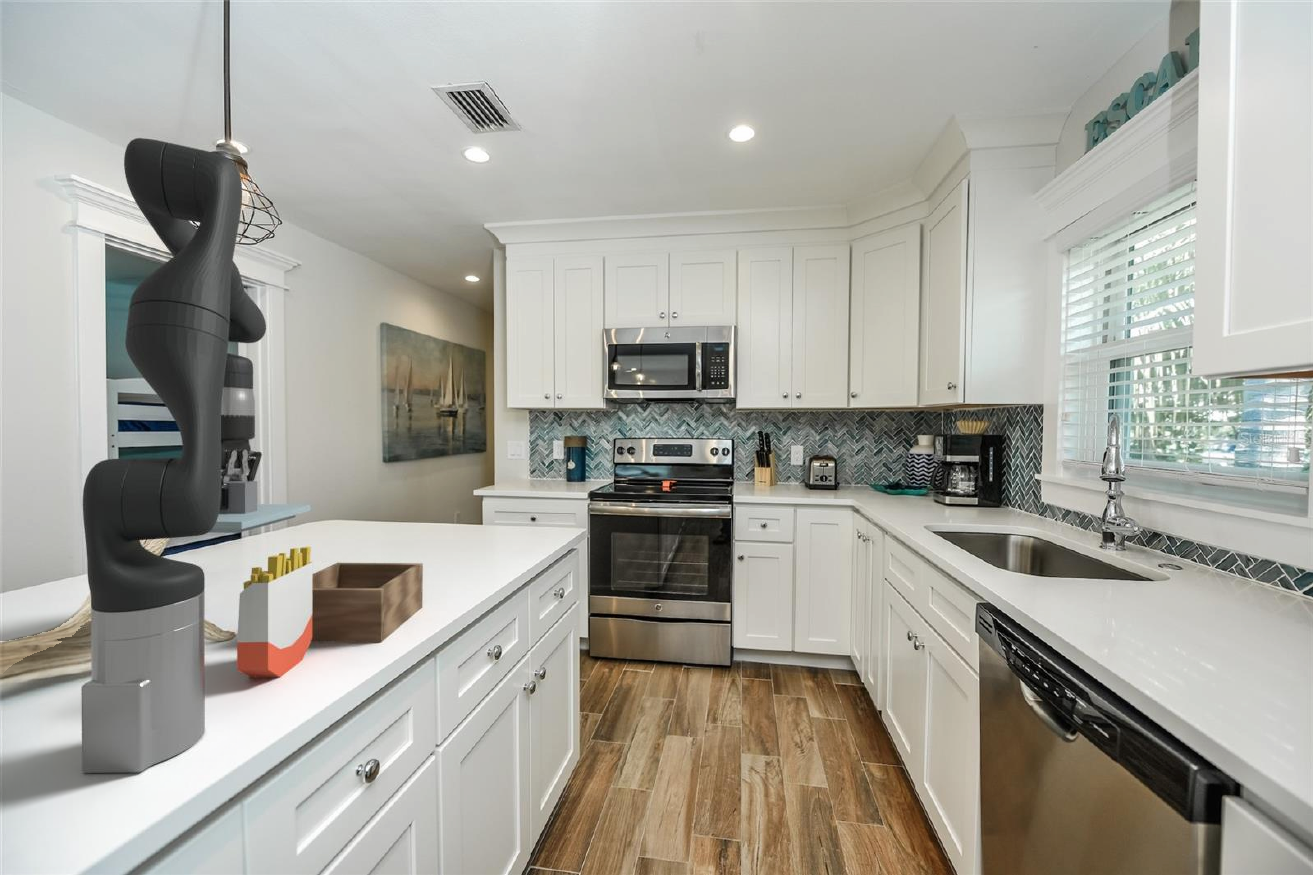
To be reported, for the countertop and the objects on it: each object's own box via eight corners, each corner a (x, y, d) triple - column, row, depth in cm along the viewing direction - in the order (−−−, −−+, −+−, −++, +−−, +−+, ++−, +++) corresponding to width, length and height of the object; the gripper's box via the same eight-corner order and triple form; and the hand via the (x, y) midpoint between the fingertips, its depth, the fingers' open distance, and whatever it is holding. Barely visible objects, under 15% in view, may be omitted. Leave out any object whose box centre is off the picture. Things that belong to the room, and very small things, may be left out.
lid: (241, 535, 85) (241, 488, 85) (128, 533, 84) (128, 487, 84) (310, 515, 103) (310, 477, 103) (217, 514, 102) (217, 476, 102)
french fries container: (234, 687, 73) (234, 560, 72) (282, 653, 83) (283, 542, 83) (268, 686, 73) (268, 560, 72) (312, 652, 84) (313, 542, 83)
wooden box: (381, 642, 88) (381, 590, 88) (279, 642, 87) (279, 589, 87) (422, 607, 105) (422, 563, 105) (337, 606, 104) (337, 562, 104)
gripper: (218, 412, 86) (218, 515, 87) (276, 414, 100) (276, 502, 101) (172, 411, 86) (172, 514, 87) (237, 413, 100) (237, 502, 101)
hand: (228, 507), depth 94 cm, fingers closed on lid, 3 cm apart
